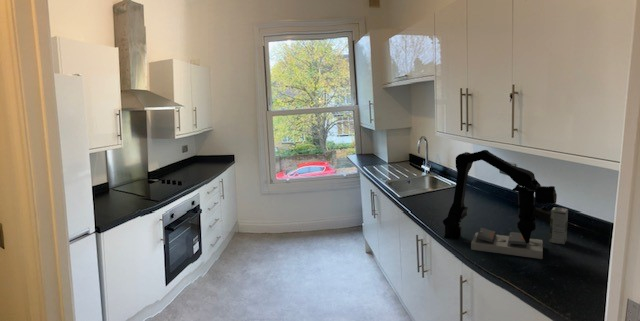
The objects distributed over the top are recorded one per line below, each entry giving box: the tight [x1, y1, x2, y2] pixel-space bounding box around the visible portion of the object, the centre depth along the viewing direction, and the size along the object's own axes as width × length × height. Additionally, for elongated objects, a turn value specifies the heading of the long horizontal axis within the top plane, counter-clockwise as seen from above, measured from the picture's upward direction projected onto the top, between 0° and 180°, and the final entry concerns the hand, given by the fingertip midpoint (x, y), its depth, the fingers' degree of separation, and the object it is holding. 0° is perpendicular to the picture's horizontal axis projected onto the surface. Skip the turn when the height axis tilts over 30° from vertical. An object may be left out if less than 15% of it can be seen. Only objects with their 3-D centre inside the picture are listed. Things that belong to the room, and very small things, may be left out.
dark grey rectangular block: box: [477, 227, 496, 242], centre depth 161 cm, size 6×11×1 cm, turn 150°
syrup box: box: [548, 206, 569, 245], centre depth 161 cm, size 6×6×14 cm
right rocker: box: [508, 231, 525, 245], centre depth 156 cm, size 6×11×1 cm, turn 150°
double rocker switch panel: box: [463, 232, 544, 260], centre depth 159 cm, size 30×14×3 cm, turn 60°
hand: (527, 239), depth 154 cm, fingers open, 9 cm apart
